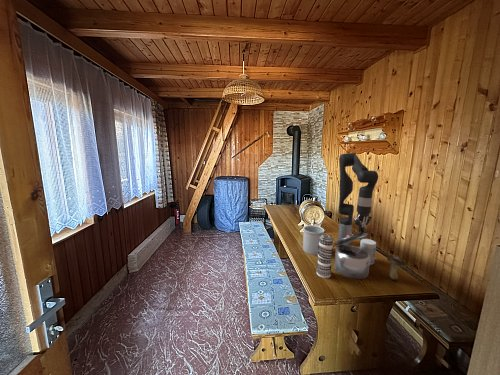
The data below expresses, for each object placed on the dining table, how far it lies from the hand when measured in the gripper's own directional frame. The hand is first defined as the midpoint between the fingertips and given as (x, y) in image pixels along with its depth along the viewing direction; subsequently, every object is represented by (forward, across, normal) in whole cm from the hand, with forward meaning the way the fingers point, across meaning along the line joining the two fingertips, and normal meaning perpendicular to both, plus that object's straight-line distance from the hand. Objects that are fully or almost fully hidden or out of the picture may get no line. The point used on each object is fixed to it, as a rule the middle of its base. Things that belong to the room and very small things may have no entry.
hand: (361, 232), depth 130 cm
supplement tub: (+27, -18, -7) cm, 33 cm away
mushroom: (+27, -14, +14) cm, 33 cm away
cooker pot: (+27, 0, -4) cm, 27 cm away
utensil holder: (+27, +6, -34) cm, 44 cm away
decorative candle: (+27, +20, -8) cm, 34 cm away
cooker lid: (+7, 0, -6) cm, 9 cm away
